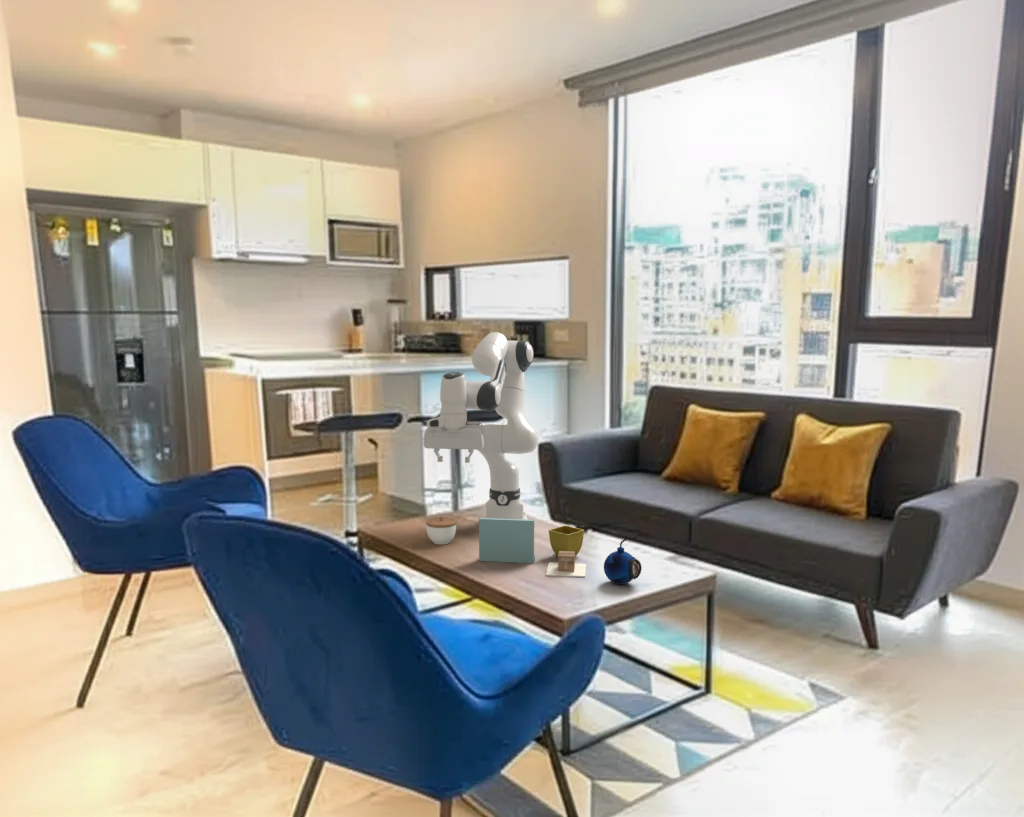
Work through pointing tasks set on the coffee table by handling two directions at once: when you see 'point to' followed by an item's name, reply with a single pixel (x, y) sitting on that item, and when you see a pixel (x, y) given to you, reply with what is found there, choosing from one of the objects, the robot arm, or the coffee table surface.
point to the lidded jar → (441, 529)
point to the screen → (506, 540)
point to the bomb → (621, 566)
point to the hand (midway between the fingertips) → (453, 462)
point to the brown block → (566, 561)
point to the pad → (578, 572)
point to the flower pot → (566, 539)
